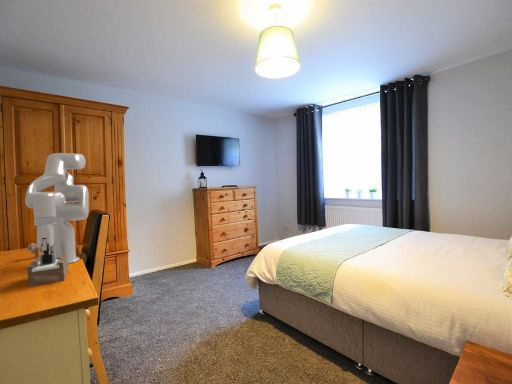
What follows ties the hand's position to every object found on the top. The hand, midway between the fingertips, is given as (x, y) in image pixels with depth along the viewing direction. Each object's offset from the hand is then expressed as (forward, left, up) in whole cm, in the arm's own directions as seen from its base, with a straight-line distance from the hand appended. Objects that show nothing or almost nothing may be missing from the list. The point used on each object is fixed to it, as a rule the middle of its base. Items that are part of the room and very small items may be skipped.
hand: (48, 261), depth 117 cm
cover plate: (0, 0, -2) cm, 2 cm away
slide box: (-1, 0, -8) cm, 8 cm away
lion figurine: (-51, -10, -8) cm, 53 cm away
